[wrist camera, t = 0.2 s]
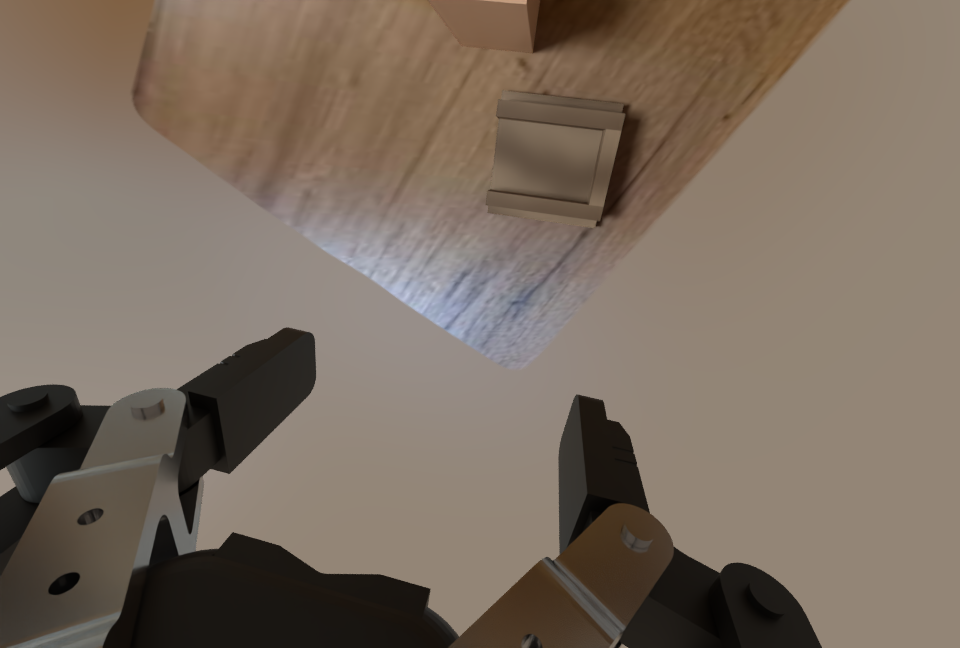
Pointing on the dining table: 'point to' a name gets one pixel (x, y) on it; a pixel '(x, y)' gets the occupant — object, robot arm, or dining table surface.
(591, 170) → the tray
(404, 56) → the dining table surface
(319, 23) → the dining table surface
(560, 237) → the dining table surface
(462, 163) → the dining table surface
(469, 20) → the clay block
